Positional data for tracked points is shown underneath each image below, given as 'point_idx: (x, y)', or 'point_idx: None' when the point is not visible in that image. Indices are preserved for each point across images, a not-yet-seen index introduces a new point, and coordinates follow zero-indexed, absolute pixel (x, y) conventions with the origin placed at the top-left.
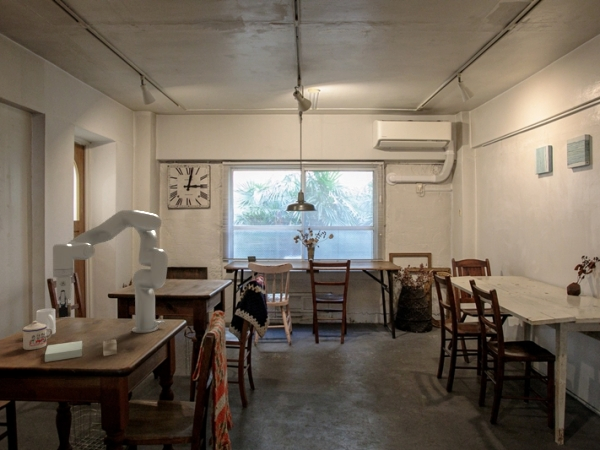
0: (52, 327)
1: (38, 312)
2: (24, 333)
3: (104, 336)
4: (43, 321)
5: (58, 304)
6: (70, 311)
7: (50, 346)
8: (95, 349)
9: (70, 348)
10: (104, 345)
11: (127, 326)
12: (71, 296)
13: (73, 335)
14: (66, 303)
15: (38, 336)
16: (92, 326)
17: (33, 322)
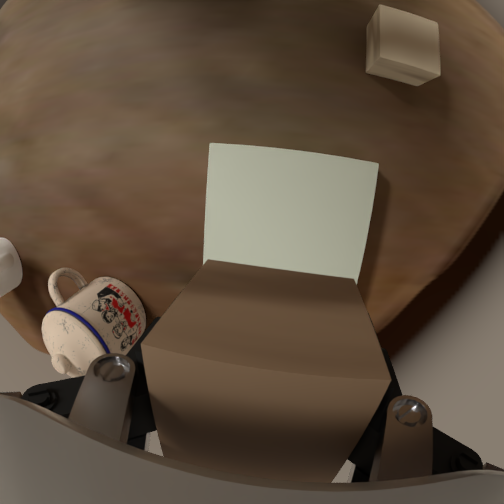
0: (7, 259)
1: None
2: None
3: (103, 59)
4: None
5: (208, 467)
6: (355, 309)
7: None
8: (294, 92)
9: (328, 210)
10: (438, 72)
11: (42, 9)
12: (103, 459)
13: (38, 181)
14: (427, 452)
15: (118, 328)
16: None
17: (67, 371)
